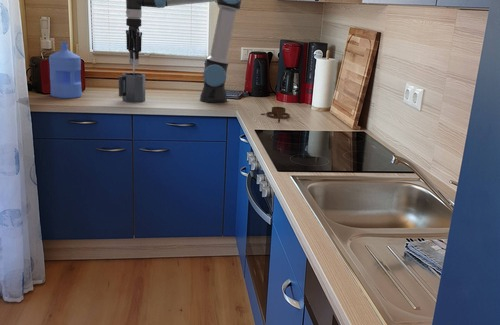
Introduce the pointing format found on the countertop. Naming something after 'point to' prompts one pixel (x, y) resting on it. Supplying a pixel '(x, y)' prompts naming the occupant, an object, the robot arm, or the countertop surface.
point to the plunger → (133, 65)
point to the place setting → (278, 113)
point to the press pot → (132, 87)
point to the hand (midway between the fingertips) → (133, 64)
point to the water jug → (65, 73)
